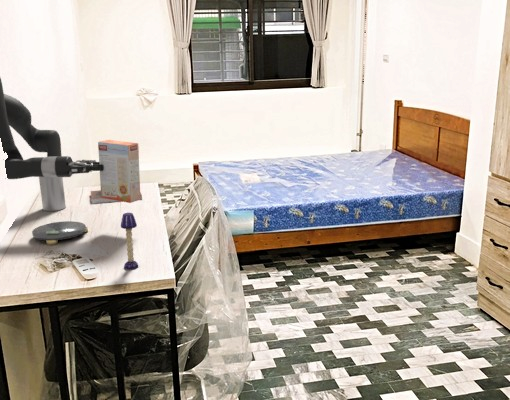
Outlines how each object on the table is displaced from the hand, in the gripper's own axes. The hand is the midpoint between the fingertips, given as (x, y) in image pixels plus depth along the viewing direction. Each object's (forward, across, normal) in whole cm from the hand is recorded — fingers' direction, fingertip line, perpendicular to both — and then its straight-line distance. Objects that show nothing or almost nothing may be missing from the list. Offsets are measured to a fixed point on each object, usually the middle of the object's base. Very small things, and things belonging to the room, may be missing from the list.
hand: (104, 166), depth 197 cm
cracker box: (+5, -2, +12) cm, 13 cm away
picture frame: (-9, +47, +24) cm, 54 cm away
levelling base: (-16, -8, +24) cm, 30 cm away
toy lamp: (+16, -39, +23) cm, 48 cm away
